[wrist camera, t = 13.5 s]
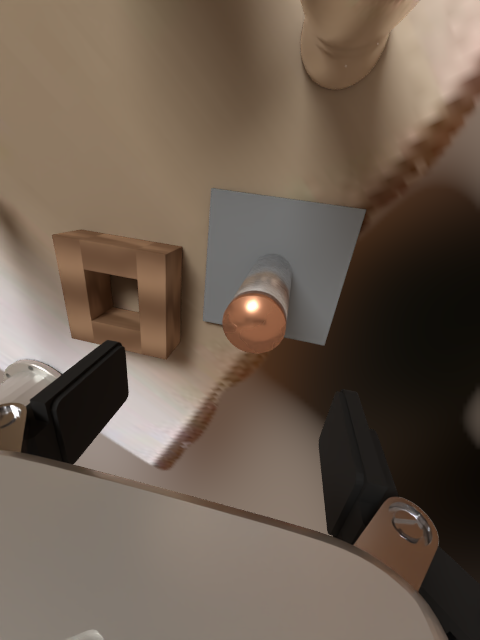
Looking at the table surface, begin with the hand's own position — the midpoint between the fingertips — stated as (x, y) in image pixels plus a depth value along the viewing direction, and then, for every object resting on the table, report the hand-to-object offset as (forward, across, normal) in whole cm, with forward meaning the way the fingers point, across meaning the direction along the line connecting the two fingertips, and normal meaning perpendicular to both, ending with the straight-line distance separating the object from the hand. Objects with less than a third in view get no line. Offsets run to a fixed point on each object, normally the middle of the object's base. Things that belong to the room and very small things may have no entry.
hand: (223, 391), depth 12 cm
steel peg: (+18, -1, -1) cm, 18 cm away
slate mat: (+18, -1, -1) cm, 19 cm away
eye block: (+19, +15, +4) cm, 25 cm away
